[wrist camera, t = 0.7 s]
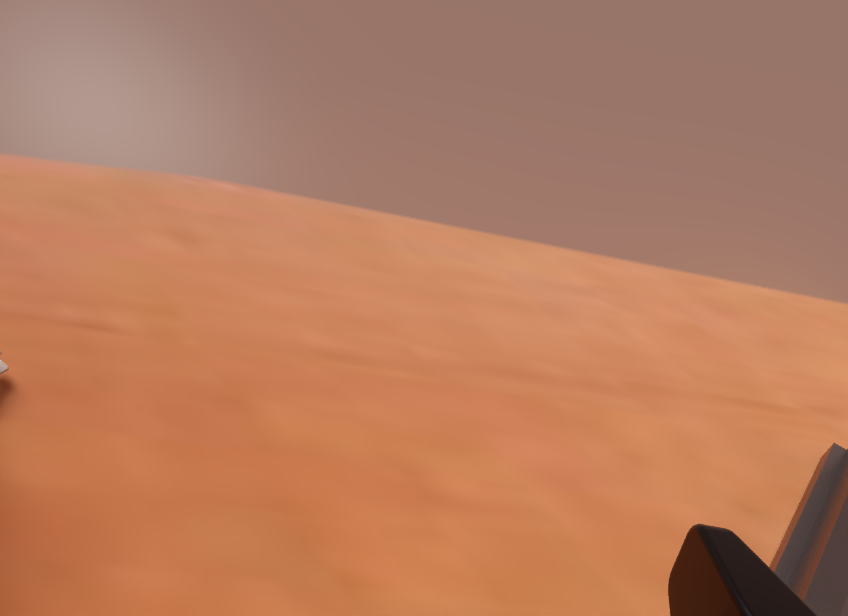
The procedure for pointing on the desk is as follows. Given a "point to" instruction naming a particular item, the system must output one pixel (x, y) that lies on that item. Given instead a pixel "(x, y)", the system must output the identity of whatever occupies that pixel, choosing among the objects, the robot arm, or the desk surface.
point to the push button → (3, 366)
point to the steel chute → (819, 539)
